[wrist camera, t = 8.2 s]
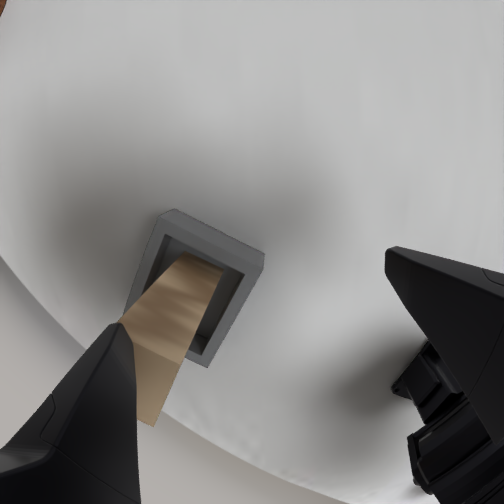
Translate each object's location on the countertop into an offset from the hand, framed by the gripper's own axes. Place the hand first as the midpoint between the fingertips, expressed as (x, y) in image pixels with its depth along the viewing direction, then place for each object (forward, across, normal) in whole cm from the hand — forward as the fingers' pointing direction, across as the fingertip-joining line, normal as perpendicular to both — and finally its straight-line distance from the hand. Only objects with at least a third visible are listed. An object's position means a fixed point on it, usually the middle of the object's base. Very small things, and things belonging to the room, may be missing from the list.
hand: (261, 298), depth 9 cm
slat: (+11, +3, +6) cm, 13 cm away
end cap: (+12, +3, +6) cm, 14 cm away
